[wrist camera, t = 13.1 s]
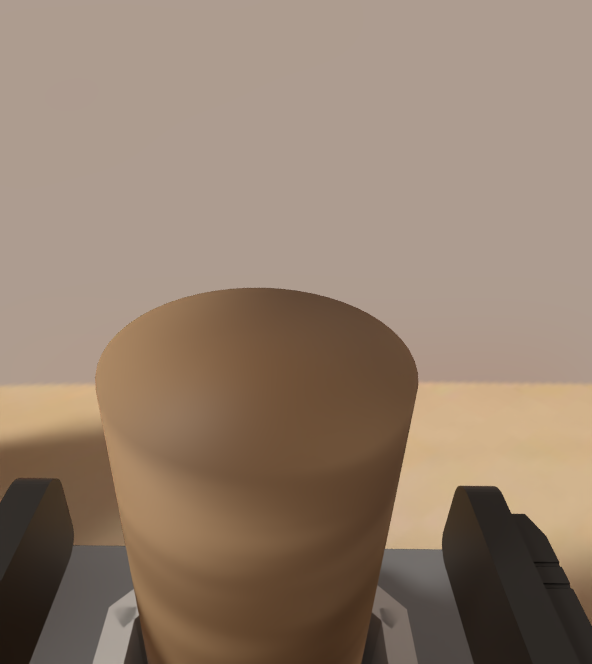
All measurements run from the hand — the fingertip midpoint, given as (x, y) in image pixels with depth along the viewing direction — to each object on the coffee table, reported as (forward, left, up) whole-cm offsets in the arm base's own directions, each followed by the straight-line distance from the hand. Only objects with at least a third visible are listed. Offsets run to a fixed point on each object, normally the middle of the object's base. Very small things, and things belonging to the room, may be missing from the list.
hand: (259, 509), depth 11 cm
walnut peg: (0, 0, -9) cm, 9 cm away
